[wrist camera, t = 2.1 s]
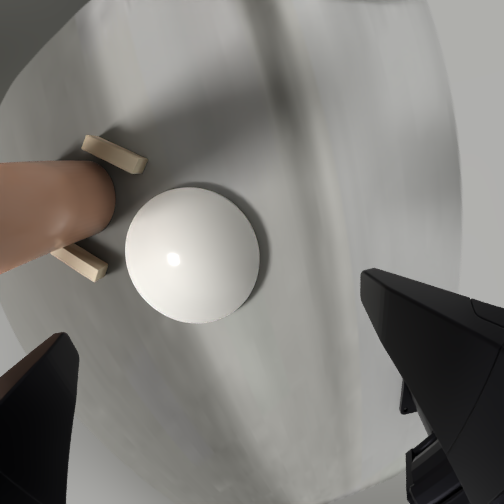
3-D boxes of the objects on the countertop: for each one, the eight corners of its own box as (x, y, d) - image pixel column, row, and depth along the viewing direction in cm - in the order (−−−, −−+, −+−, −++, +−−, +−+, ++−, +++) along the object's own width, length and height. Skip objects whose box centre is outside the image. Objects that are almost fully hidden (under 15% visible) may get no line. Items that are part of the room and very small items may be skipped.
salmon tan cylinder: (122, 229, 21) (-24, 295, 8) (64, 241, 22) (-71, 300, 9) (108, 151, 20) (-50, 150, 7) (51, 171, 20) (-92, 189, 8)
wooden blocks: (148, 159, 20) (127, 158, 17) (104, 275, 22) (83, 289, 19) (66, 122, 19) (41, 118, 16) (33, 229, 22) (9, 237, 19)
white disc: (269, 312, 21) (269, 316, 21) (146, 323, 22) (143, 327, 22) (247, 175, 19) (246, 175, 19) (117, 201, 20) (113, 202, 20)
